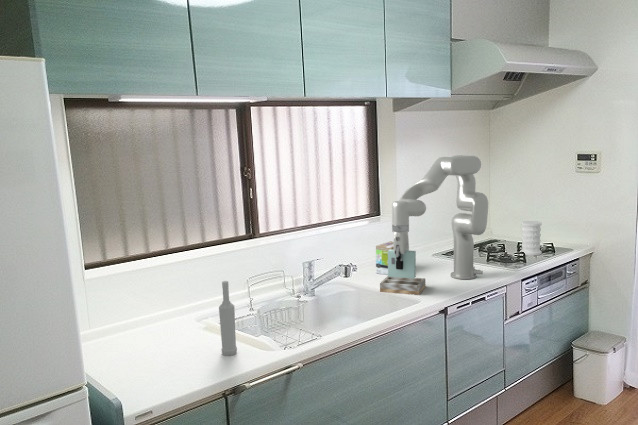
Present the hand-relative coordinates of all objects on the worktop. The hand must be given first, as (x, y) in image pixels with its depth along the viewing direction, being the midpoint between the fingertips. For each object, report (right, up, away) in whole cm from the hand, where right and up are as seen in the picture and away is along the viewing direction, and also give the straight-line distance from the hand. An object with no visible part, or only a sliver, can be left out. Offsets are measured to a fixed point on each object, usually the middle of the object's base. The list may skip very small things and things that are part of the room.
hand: (400, 267), depth 251 cm
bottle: (-68, -23, -64) cm, 96 cm away
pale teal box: (+1, -4, 0) cm, 4 cm away
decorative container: (+85, +1, +68) cm, 109 cm away
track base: (+2, -10, +4) cm, 11 cm away
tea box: (+1, -6, +37) cm, 38 cm away
